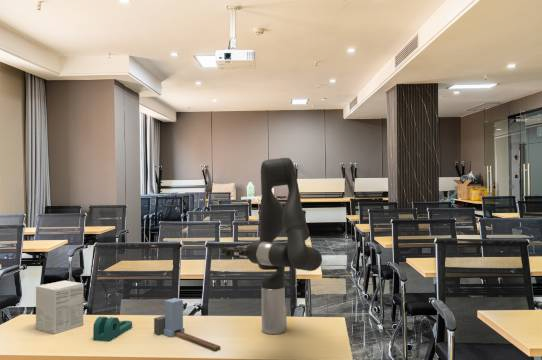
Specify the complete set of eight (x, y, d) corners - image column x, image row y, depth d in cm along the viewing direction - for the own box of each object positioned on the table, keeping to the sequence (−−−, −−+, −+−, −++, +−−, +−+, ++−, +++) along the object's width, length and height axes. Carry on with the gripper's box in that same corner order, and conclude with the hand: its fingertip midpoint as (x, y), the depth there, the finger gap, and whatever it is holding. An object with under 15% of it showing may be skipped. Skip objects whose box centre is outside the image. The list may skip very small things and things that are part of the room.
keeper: (176, 330, 165) (176, 297, 165) (184, 332, 162) (184, 299, 162) (163, 334, 160) (163, 300, 161) (170, 337, 157) (170, 302, 157)
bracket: (109, 342, 153) (109, 320, 154) (93, 340, 155) (93, 319, 155) (135, 326, 171) (135, 307, 171) (120, 325, 172) (120, 306, 173)
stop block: (175, 327, 169) (175, 312, 169) (180, 328, 167) (180, 313, 167) (154, 333, 161) (154, 318, 161) (158, 335, 159) (158, 319, 159)
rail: (172, 331, 164) (172, 328, 164) (220, 349, 144) (220, 346, 144) (166, 332, 162) (166, 329, 162) (215, 351, 143) (215, 348, 143)
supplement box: (84, 325, 173) (84, 283, 173) (54, 334, 161) (54, 289, 162) (65, 320, 180) (65, 279, 180) (34, 329, 168) (35, 285, 169)
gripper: (279, 239, 140) (245, 236, 151) (249, 243, 129) (215, 240, 140) (279, 261, 140) (246, 257, 151) (249, 267, 129) (216, 262, 140)
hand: (231, 248), depth 145 cm, fingers open, 8 cm apart
